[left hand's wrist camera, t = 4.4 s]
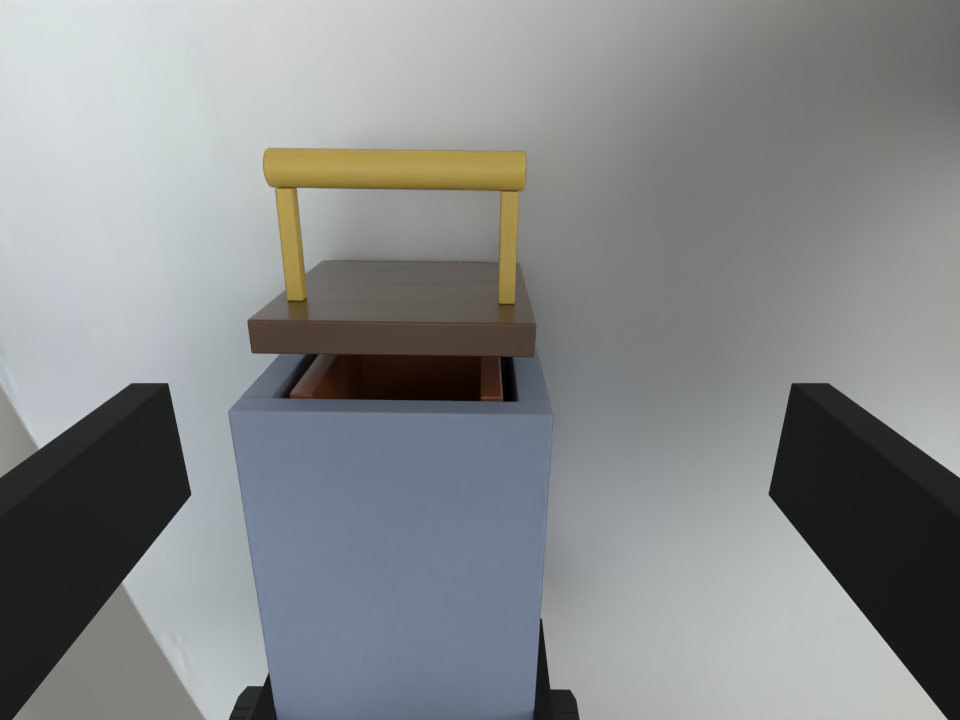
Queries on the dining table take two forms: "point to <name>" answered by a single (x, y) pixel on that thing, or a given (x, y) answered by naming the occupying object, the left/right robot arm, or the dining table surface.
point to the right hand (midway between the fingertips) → (417, 637)
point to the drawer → (397, 287)
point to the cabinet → (397, 546)
